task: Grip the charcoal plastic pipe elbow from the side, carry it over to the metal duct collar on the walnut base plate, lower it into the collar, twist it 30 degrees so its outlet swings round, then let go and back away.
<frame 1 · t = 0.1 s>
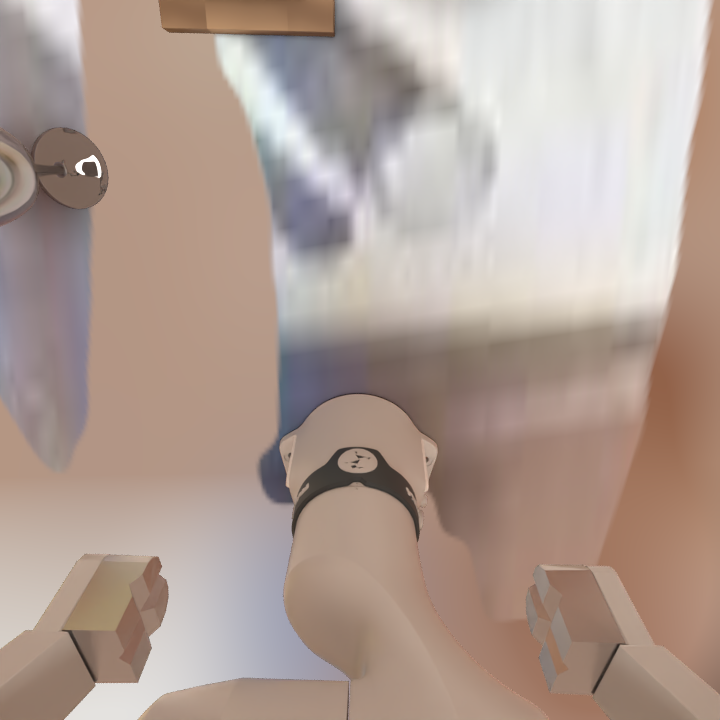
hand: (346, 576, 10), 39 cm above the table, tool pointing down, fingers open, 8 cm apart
wine glass: (71, 169, 43), on the table
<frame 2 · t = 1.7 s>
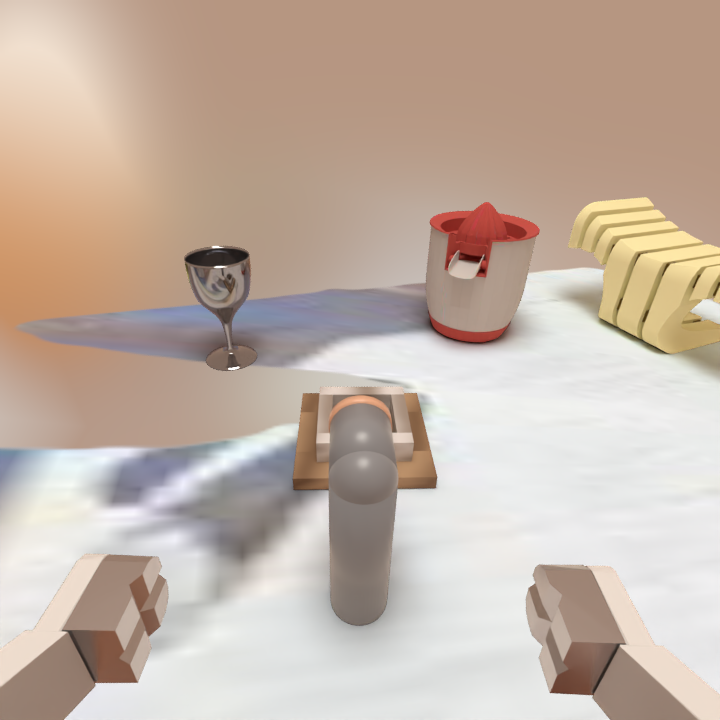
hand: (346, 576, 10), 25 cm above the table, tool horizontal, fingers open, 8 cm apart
citrus juicer: (465, 330, 75), on the table
wine glass: (232, 358, 66), on the table
pipe elbow: (358, 596, 36), on the table
collar plate: (362, 440, 51), on the table
slatted curved stool: (654, 331, 76), on the table
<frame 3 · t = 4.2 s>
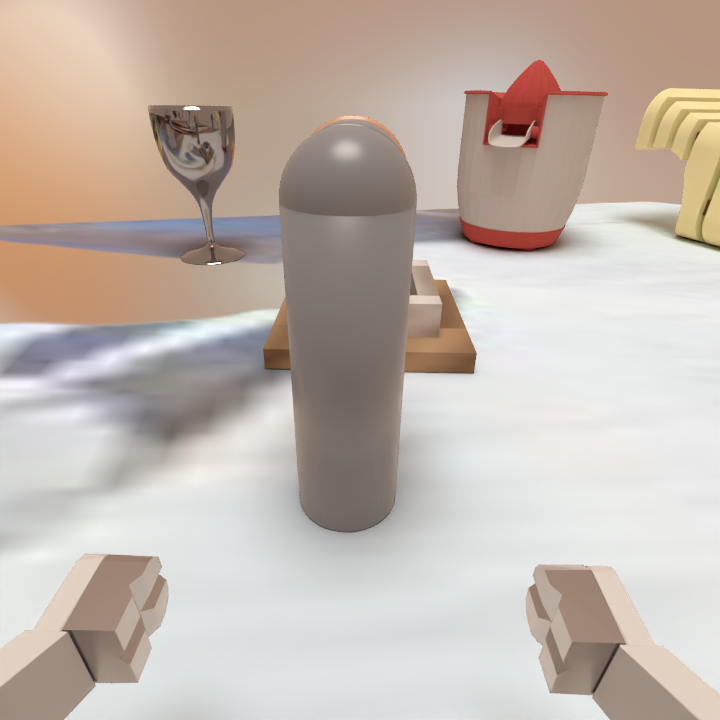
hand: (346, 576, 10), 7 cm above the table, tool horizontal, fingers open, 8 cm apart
citrus juicer: (505, 242, 60), on the table
wine glass: (213, 257, 53), on the table
pipe elbow: (347, 492, 21), on the table
collar plate: (369, 325, 37), on the table
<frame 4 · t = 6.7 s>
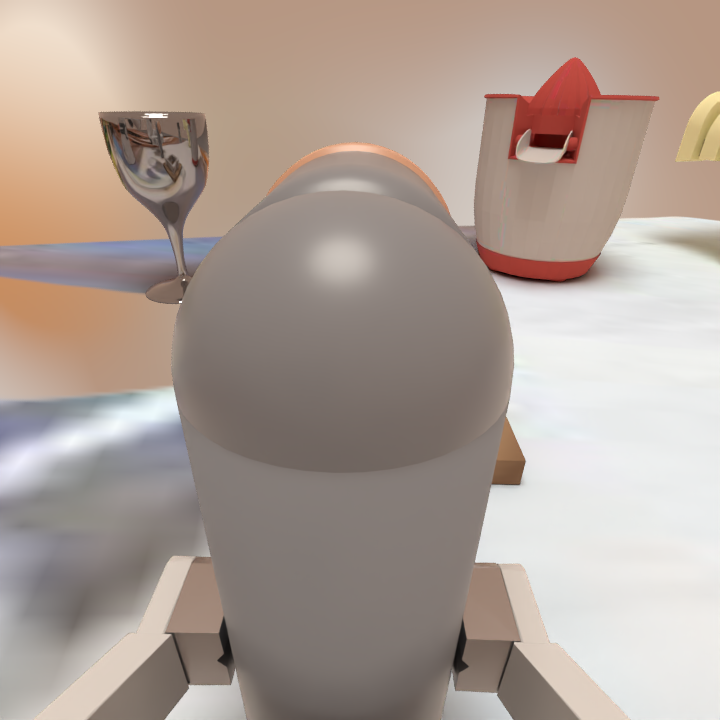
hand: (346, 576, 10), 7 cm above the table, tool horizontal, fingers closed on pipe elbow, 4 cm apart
citrus juicer: (529, 269, 52), on the table
wine glass: (185, 291, 44), on the table
collar plate: (374, 399, 28), on the table
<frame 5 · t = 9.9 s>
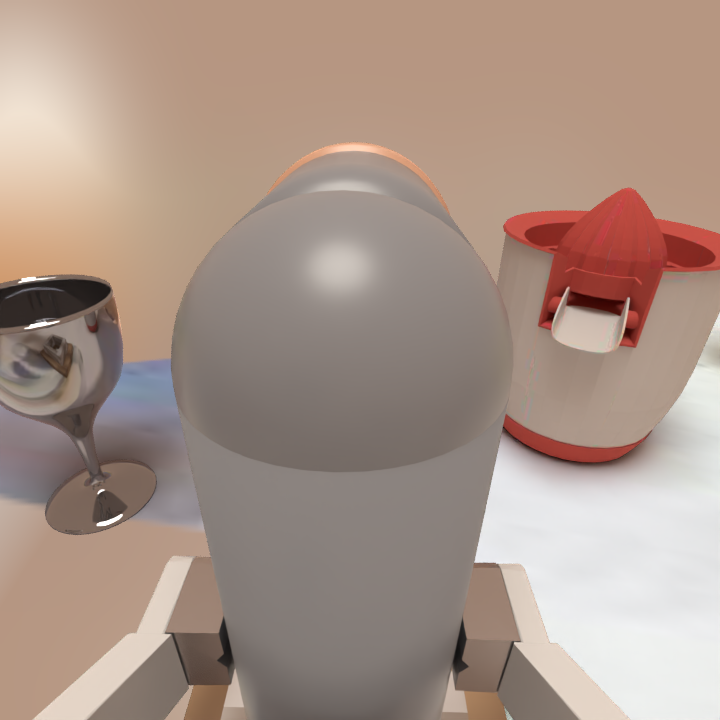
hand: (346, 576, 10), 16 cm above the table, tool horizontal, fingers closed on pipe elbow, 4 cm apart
citrus juicer: (558, 428, 41), on the table
wine glass: (103, 495, 33), on the table
when the fingers open (9 cm above the table, at t = 13.4 s): pipe elbow drops 1 cm, resting on collar plate.
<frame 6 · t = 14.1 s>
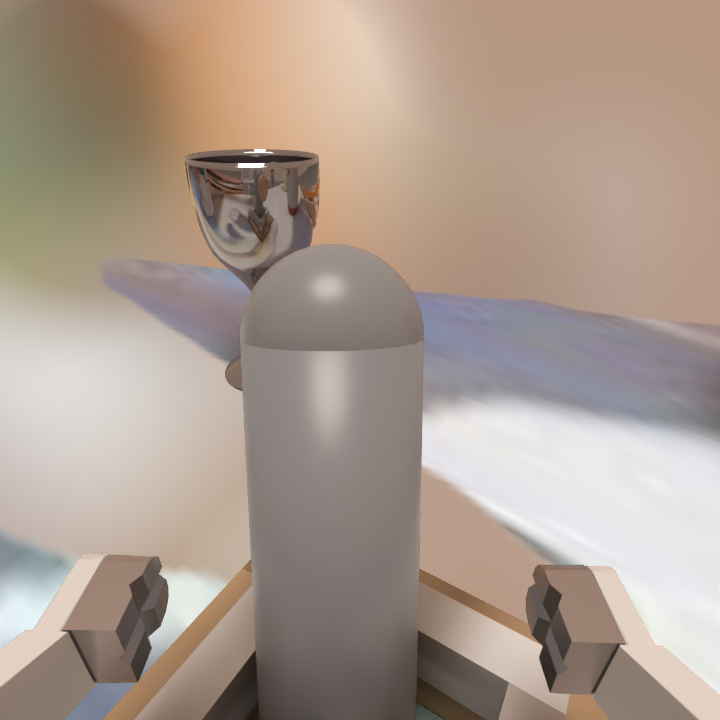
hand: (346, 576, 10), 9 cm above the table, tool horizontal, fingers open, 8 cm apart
wine glass: (273, 370, 35), on the table
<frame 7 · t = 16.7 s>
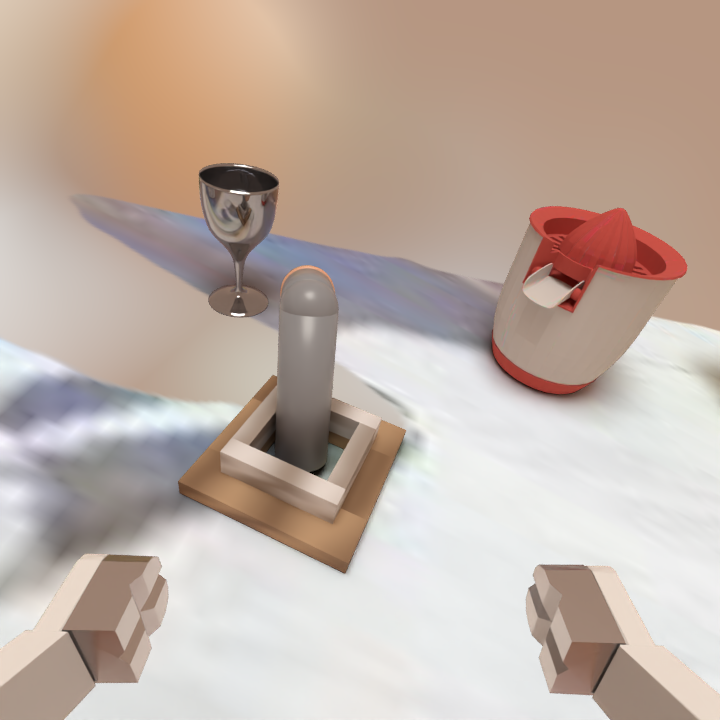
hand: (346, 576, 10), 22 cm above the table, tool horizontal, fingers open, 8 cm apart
citrus juicer: (532, 367, 56), on the table
wine glass: (238, 301, 56), on the table
pipe elbow: (301, 457, 39), point 1 cm above the table, tilted 20°, touching collar plate
collar plate: (302, 464, 39), on the table
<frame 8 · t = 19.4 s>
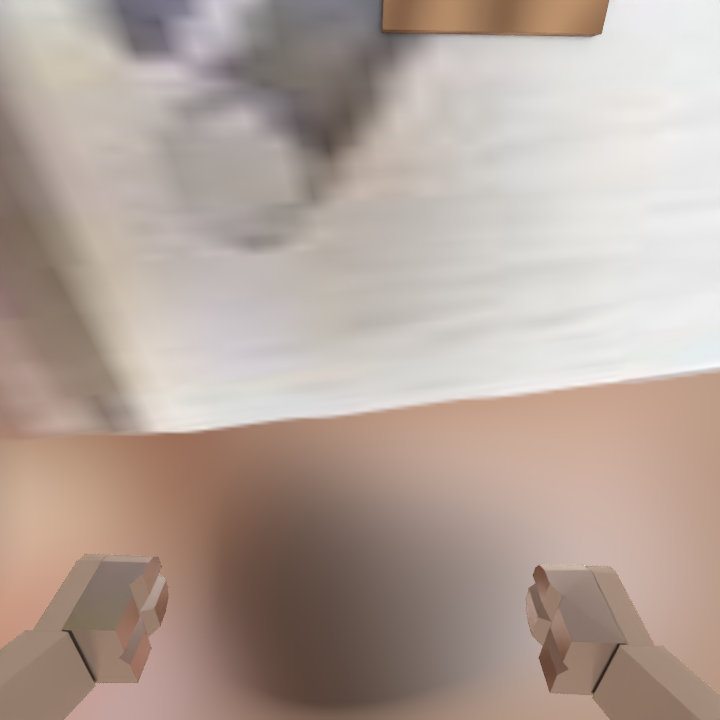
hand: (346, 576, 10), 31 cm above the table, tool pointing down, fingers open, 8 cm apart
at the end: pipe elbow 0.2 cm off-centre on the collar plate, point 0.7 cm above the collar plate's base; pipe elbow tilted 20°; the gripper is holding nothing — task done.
